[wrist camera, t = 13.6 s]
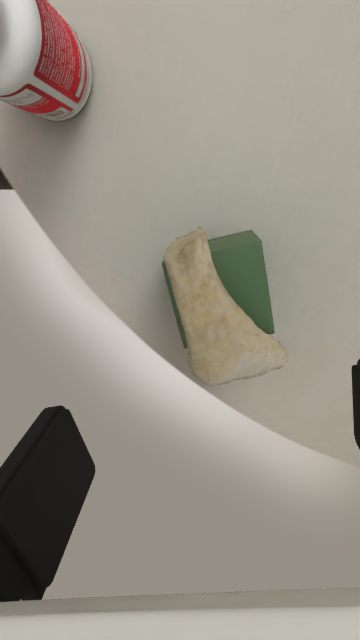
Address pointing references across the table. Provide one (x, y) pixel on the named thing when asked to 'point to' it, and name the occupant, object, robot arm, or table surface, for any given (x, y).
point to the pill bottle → (41, 61)
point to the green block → (238, 277)
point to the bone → (216, 318)
